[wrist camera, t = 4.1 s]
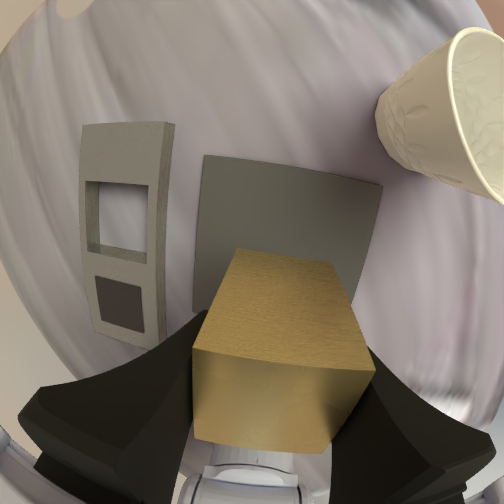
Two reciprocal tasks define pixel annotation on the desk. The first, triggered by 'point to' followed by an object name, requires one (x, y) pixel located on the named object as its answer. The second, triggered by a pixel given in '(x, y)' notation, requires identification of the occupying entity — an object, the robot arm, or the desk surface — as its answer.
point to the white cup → (450, 114)
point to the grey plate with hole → (116, 259)
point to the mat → (280, 219)
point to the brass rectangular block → (278, 356)
